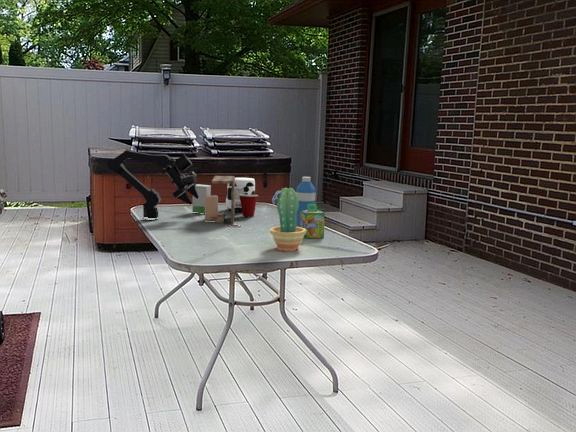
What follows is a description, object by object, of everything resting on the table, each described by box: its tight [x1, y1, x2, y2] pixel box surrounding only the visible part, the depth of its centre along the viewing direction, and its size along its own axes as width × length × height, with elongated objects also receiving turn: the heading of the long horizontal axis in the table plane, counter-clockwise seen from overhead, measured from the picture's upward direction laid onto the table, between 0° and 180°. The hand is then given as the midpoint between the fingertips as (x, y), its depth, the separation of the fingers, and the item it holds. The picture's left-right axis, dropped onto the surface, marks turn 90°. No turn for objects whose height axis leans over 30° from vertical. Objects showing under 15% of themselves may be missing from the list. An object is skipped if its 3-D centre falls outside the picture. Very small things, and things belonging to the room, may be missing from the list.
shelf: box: [204, 175, 236, 226], centre depth 300 cm, size 14×24×22 cm, turn 4°
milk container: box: [225, 177, 256, 212], centre depth 333 cm, size 17×17×18 cm
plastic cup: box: [239, 194, 259, 218], centre depth 315 cm, size 11×11×12 cm
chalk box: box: [300, 203, 326, 239], centre depth 265 cm, size 9×9×15 cm
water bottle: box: [295, 176, 317, 227], centre depth 283 cm, size 9×9×25 cm
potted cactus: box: [269, 187, 307, 252], centre depth 239 cm, size 15×15×25 cm
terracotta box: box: [205, 195, 219, 217], centre depth 301 cm, size 6×6×12 cm
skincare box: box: [191, 183, 212, 213], centre depth 321 cm, size 8×7×16 cm
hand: (194, 201), depth 299 cm, fingers open, 9 cm apart
